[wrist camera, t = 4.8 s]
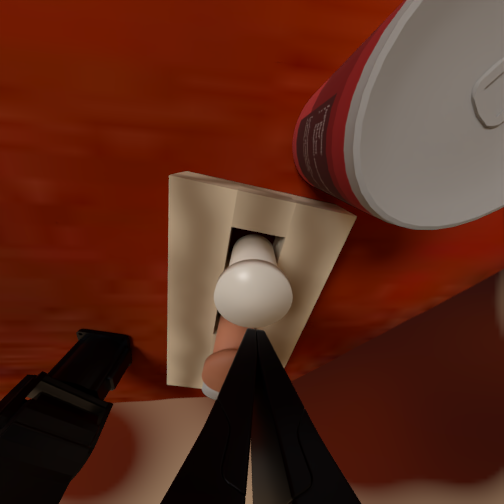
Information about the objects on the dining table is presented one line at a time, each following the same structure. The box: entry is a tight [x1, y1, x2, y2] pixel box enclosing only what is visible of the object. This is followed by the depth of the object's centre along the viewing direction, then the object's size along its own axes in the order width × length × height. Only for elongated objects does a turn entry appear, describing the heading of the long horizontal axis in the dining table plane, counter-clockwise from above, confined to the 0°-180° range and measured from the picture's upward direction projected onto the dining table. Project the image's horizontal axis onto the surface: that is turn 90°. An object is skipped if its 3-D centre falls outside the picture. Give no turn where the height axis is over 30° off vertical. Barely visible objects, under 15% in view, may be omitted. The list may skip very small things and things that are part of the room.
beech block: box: [167, 171, 357, 389], centre depth 21 cm, size 14×26×4 cm, turn 168°
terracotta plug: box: [202, 315, 254, 392], centre depth 17 cm, size 5×5×6 cm
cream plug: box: [214, 234, 293, 328], centre depth 14 cm, size 5×5×6 cm
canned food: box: [293, 0, 504, 230], centre depth 10 cm, size 8×8×11 cm
